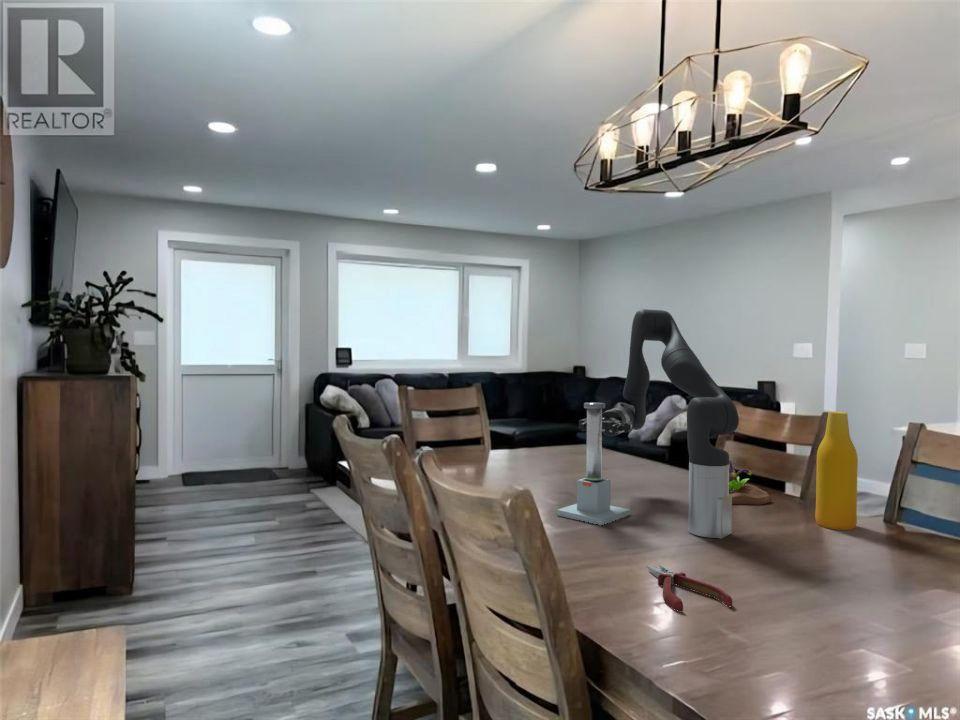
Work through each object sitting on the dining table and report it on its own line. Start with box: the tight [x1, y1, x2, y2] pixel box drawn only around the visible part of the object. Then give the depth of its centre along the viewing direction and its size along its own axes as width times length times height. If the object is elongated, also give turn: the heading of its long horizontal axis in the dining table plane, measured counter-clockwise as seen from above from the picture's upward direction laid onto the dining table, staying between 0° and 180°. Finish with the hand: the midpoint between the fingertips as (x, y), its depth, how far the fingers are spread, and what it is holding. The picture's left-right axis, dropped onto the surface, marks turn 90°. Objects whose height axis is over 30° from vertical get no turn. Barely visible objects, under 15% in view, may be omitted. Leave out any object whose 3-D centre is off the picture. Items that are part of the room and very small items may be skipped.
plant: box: [729, 459, 771, 506], centre depth 192 cm, size 20×20×11 cm
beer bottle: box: [814, 411, 859, 531], centre depth 161 cm, size 9×9×29 cm
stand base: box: [556, 477, 631, 526], centre depth 170 cm, size 14×14×10 cm
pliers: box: [646, 564, 734, 612], centre depth 120 cm, size 12×20×3 cm, turn 11°
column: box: [583, 401, 606, 483], centre depth 169 cm, size 6×6×21 cm
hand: (597, 428), depth 172 cm, fingers open, 8 cm apart
